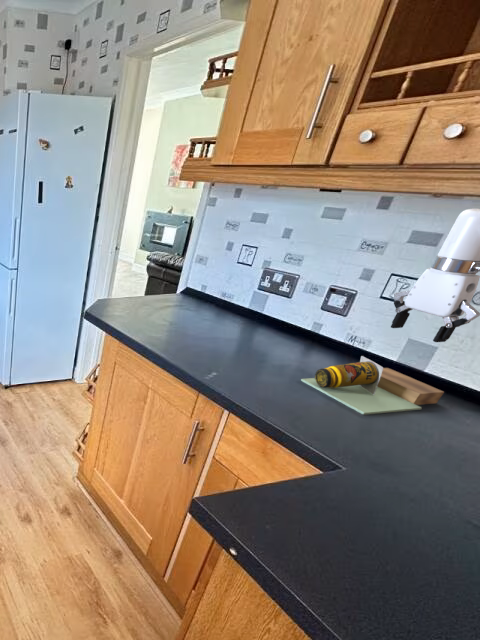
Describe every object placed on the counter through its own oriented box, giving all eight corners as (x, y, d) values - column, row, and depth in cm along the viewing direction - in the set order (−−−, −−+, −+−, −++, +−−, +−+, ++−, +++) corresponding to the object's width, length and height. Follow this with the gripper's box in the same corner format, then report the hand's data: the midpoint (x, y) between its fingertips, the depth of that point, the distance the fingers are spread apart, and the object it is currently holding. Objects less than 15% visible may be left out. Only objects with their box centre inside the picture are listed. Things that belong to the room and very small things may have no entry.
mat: (352, 376, 121) (353, 375, 121) (420, 409, 106) (422, 407, 106) (300, 380, 118) (301, 378, 118) (363, 414, 103) (364, 412, 103)
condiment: (384, 367, 107) (332, 373, 108) (375, 395, 110) (325, 400, 112) (362, 355, 113) (314, 361, 115) (354, 382, 117) (308, 387, 119)
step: (381, 378, 121) (388, 367, 119) (436, 403, 109) (444, 391, 107) (359, 380, 120) (365, 369, 118) (412, 405, 108) (419, 393, 106)
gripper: (516, 274, 90) (470, 346, 98) (426, 258, 105) (392, 322, 113) (489, 275, 89) (444, 348, 97) (402, 258, 103) (369, 323, 112)
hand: (416, 334), depth 105 cm, fingers open, 9 cm apart
